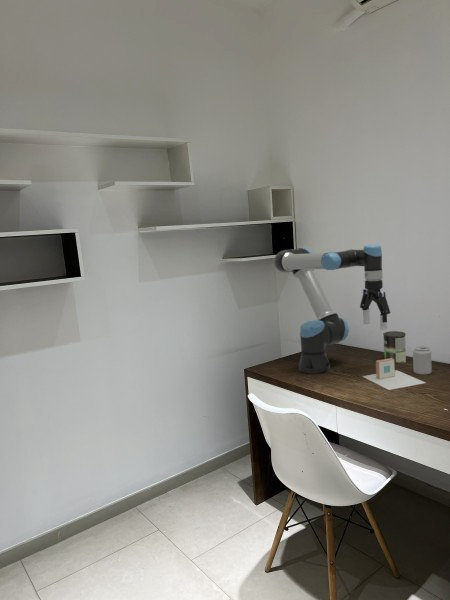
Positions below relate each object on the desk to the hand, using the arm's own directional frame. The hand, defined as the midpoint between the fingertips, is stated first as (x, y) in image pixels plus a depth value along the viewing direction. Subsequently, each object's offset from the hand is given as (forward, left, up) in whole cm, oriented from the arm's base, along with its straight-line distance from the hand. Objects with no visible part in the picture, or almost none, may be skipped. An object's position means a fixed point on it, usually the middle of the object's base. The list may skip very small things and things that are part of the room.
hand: (374, 326), depth 208 cm
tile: (+7, 0, -22) cm, 23 cm away
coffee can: (-13, +19, -23) cm, 33 cm away
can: (+8, +18, -23) cm, 30 cm away
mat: (+11, +1, -23) cm, 25 cm away
